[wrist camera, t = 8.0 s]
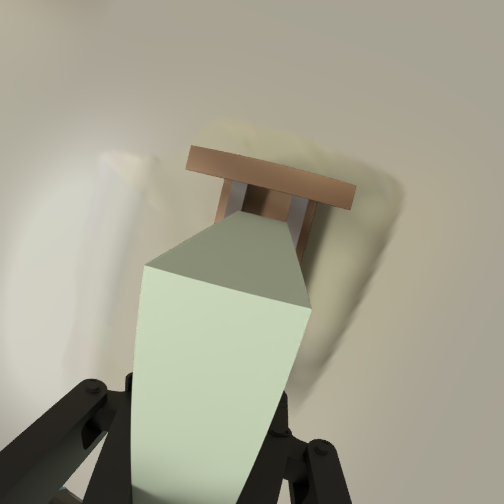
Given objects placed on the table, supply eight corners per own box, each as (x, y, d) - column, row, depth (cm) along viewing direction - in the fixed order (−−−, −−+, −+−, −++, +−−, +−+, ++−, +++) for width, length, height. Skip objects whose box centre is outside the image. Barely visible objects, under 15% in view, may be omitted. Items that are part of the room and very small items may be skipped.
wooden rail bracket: (266, 371, 38) (260, 465, 22) (189, 351, 38) (146, 435, 22) (319, 187, 33) (356, 185, 18) (229, 165, 34) (191, 145, 18)
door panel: (238, 425, 22) (208, 580, 9) (193, 413, 22) (138, 562, 9) (296, 225, 19) (344, 316, 5) (238, 210, 19) (144, 265, 5)
